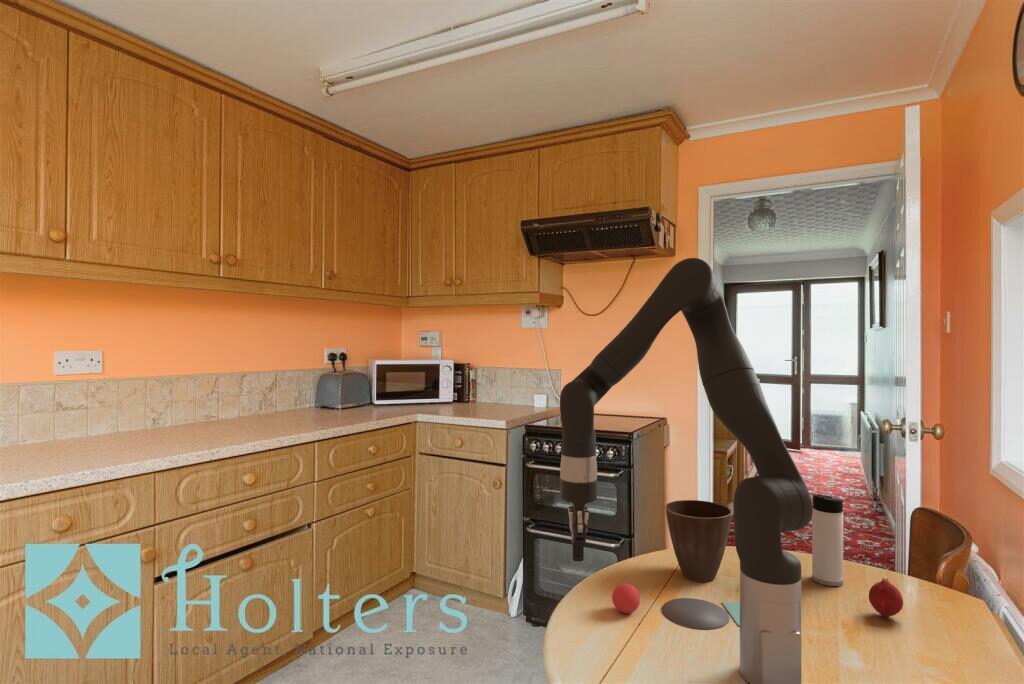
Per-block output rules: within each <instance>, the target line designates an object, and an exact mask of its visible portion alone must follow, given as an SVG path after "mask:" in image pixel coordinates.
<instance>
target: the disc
mask: <svg viewBox="0 0 1024 684" xmlns="http://www.w3.org/2000/svg"><path fill="white" fill-rule="evenodd" d="M661 609H662V614H663V615H664V616H665V618H667V619H668V620H670V621H671V622H673V623H675V624H677V625H680V626H683V627H685V628H690V629H695V630H716V628H717V629H721V628H722V627H724V626H726V625H727V624H728V623H729V621H730V616H729V615H730V614H729V612H728V611H727V610H725V609H723V607H721V606H720V605H719V604H718V605H717V604H716V603H713V602H710V601H707V600H704V599H699V598H692V597H679V598H673V599H669V600H668V601H666V602H664V603H663V604H662V607H661Z"/></svg>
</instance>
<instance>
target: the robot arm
mask: <svg viewBox="0 0 1024 684" xmlns="http://www.w3.org/2000/svg"><path fill="white" fill-rule="evenodd" d="M722 290H723V289H722V287H721V283H720V281H719V279H718V277H717V275H716V274H715V272H714V271H713V269H712V267H711V266H710V265H709V263H707V261H705V260H703V259H700V258H697V257H688V258H684V259H682V260H680V261H678V262H677V263H676V264H674V265H673V266H672V267H671V268H670V269H669V271H668V272H667V273H666V275H665V276H664V277H663V278H662V280H661V281H660V283H659V284H658V285H657V286H656V288H655V289H654V290H653V292H652V293H651V295H650V296H649V297H648V298H647V300H646V301H645V302H644V304H642V306H641V307H640V308H639V310H638V311H637V313H636V314H635V315H634V316H633V318H631V319H630V321H628V323H627V324H626V325H625V327H623V328H622V330H621V331H619V333H618V334H617V335H616V336H615V337H614V338H612V339H611V340H610V342H608V344H606V346H605V347H604V348H603V349H602V350H601V351H599V353H598V354H597V355H596V356H594V358H593V359H592V361H591V363H590V364H589V365H588V366H586V368H585V369H584V370H583V371H581V372H580V373H579V374H578V375H577V376H576V377H575V378H574V379H572V380H571V381H570V382H568V383H566V384H565V385H564V386H563V387H562V389H561V391H560V395H559V412H560V414H559V415H560V421H561V422H560V423H561V429H562V431H561V432H562V433H561V459H560V466H559V469H560V472H559V473H560V477H559V481H560V482H559V485H560V486H559V489H560V491H559V493H560V495H559V497H560V499H561V500H562V501H564V502H567V503H571V506H570V505H568V508H567V509H568V512H567V513H568V518H569V530H570V533H571V536H570V538H571V543H572V561H574V562H583V561H584V560H585V559H584V557H585V555H584V554H585V553H584V550H585V549H584V548H585V547H584V546H585V545H584V544H586V541H587V538H586V537H587V533H588V520H589V515H590V514H589V509H588V506H586V504H588V503H589V504H591V503H593V502H595V501H597V499H598V498H597V496H598V464H597V434H596V430H595V428H594V425H595V423H594V421H595V416H594V415H595V413H594V412H595V406H596V404H598V403H599V402H600V400H602V399H603V398H604V397H605V395H606V394H607V393H608V392H609V391H610V390H611V389H612V388H613V386H616V385H617V384H618V383H620V382H621V381H622V380H623V379H624V378H625V377H626V376H627V375H628V374H629V373H630V372H631V371H633V369H634V368H636V367H637V365H639V364H640V362H641V361H642V360H643V359H644V358H645V356H646V355H647V353H648V352H649V350H650V349H651V347H652V345H653V344H654V343H655V341H656V339H657V337H658V336H659V334H660V333H661V331H662V330H663V329H664V327H665V326H666V325H667V324H668V323H669V322H670V321H671V320H672V319H673V317H675V316H676V315H677V314H678V313H679V312H681V313H682V315H683V317H684V319H685V321H686V322H687V325H688V327H689V329H690V332H691V334H692V336H693V338H694V342H695V347H696V356H697V357H696V358H697V364H698V371H699V376H700V379H701V383H702V386H703V389H704V392H705V394H706V398H707V400H708V404H709V406H710V408H711V410H712V412H713V413H714V415H715V416H716V417H717V418H718V420H719V421H720V422H721V424H723V425H724V427H725V428H726V429H727V430H728V431H729V432H730V433H731V434H732V435H733V436H734V437H735V438H736V439H737V440H738V441H739V442H740V444H741V445H742V446H743V447H744V448H745V450H746V451H747V453H748V455H749V456H750V458H751V460H752V462H753V465H754V466H755V469H756V472H757V475H758V476H756V475H755V476H751V477H746V478H744V479H742V480H740V481H739V483H738V485H737V486H736V488H735V491H734V493H733V494H734V495H733V504H732V506H733V525H734V527H733V528H734V544H735V550H736V553H737V556H738V559H739V602H740V626H739V673H741V674H740V676H741V675H742V676H741V677H742V679H743V680H744V681H745V682H747V683H748V682H749V683H750V684H802V655H803V653H802V647H803V646H802V640H803V639H802V638H803V637H802V563H801V561H800V559H799V558H798V557H797V556H796V555H794V554H792V553H790V552H788V551H785V550H783V547H782V533H786V532H792V531H797V530H801V529H804V528H805V527H807V526H808V524H810V522H811V520H812V514H813V499H812V497H811V493H810V492H809V489H808V486H807V485H806V483H805V481H804V479H803V476H802V475H801V473H800V470H799V469H798V467H797V465H796V463H795V461H794V459H793V457H792V455H791V454H790V452H789V449H788V448H787V446H786V444H785V442H784V440H783V438H782V435H781V433H780V431H779V429H778V426H777V424H776V422H775V420H774V418H773V415H772V413H771V411H770V408H769V405H768V403H767V401H766V397H765V395H764V392H763V390H762V389H763V388H762V386H761V384H760V382H759V379H758V377H757V374H756V371H755V369H754V367H753V365H752V363H751V360H750V358H749V356H748V353H747V352H746V351H745V348H744V347H743V345H742V343H741V341H740V339H739V338H738V336H737V335H736V332H735V331H734V328H733V327H732V324H731V320H730V318H729V314H728V310H727V308H726V303H725V299H724V294H723V291H722ZM749 683H748V684H749Z"/></svg>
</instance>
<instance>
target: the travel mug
mask: <svg viewBox="0 0 1024 684" xmlns="http://www.w3.org/2000/svg"><path fill="white" fill-rule="evenodd" d="M812 506H813V514H812V518H811V520H812V521H811V522H812V524H811V525H812V526H811V527H812V532H811V535H812V538H811V539H812V540H811V541H812V543H811V544H812V545H811V548H812V550H811V552H812V553H811V555H812V557H811V558H812V559H811V560H812V561H811V562H812V563H811V565H812V566H811V567H812V569H811V571H812V573H811V576H812V577H811V578H812V580H813V581H814V582H815V581H816V582H815V583H817V582H818V583H817V584H819V583H820V584H819V585H822V584H823V585H822V586H825V585H827V586H826V587H831V586H838V587H842V585H844V500H843V499H841V498H834V497H833V496H830V495H825V494H816V493H814V494H812Z"/></svg>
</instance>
